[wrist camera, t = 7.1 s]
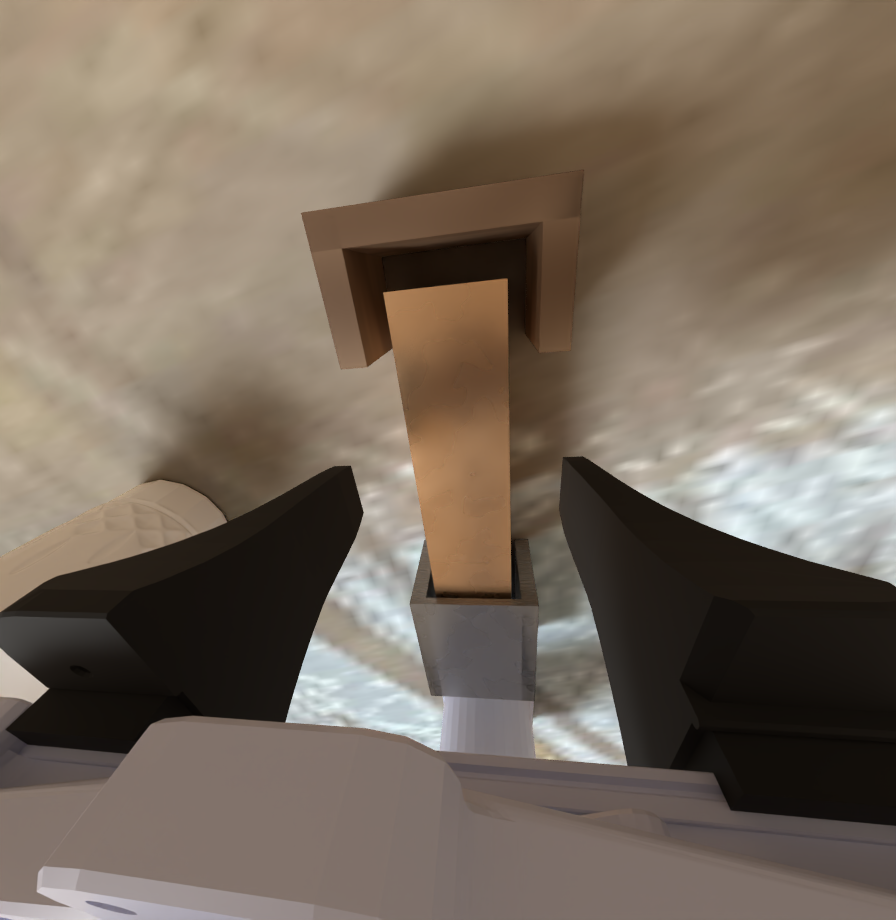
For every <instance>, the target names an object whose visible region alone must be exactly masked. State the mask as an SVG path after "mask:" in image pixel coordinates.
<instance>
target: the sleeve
mask: <svg viewBox="0 0 896 920" xmlns="http://www.w3.org/2000/svg"><path fill="white" fill-rule="evenodd" d="M410 607H411V612H412V616H413V620H414V624H415V629H416V633H417V637H418V642H419V646H420V650H421V655H422V659H423V663H424V667H425V672H426V676H427V680H428V685H429V689H430V693H431V695H432V696H449V697H467V698H484V699H502V700H519V701H534V697H535V676H536V655H537V634H538V612H539V605H538V598H537V592H536V586H535V580H534V574H533V568H532V562H531V556H530V550H529V544H528V539H527V540H515V599H478V598H436V594H435V588H434V583H433V577H432V571H431V565H430V560H429V554H428V548H427V542H426V540H424V544H423V549H422V553H421V557H420V562H419V566H418V570H417V574H416V579H415V583H414V587H413V592H412V596H411V600H410Z"/></svg>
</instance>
